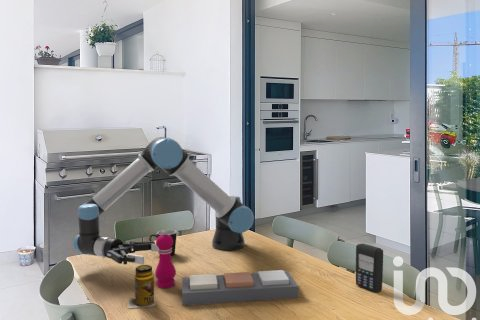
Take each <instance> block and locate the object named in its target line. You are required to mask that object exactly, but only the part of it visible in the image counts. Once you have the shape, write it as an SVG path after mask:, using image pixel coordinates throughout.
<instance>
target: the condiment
mask: <svg viewBox="0 0 480 320" xmlns="http://www.w3.org/2000/svg"><path fill="white" fill-rule="evenodd" d="M154 278H155V277H154V274H153V266H152V265H149V264H139V265H137V266H136V267H135V275H134V297H133V298H128V309H139V308H148V307H156V305H157V303H156V296H155V280H154Z"/></svg>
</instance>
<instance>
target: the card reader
mask: <svg viewBox="0 0 480 320" xmlns="http://www.w3.org/2000/svg"><path fill="white" fill-rule="evenodd" d="M355 247H356V248H355V284H356V285H357V287H360V288H362V289H365V290H368V291H369V292H370V291H371V292H373V293H380V292H382V290H383V277H384V273H383V271H384V250H383V249H382V248H381V247H377V246H373V245H371V244H365V243H358V244H357V245H356V246H355Z"/></svg>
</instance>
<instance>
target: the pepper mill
mask: <svg viewBox="0 0 480 320" xmlns="http://www.w3.org/2000/svg"><path fill="white" fill-rule="evenodd" d="M163 230H164V231H162V230H161V231H162V235H160V236H159V237H158V238H156V241H155V244H156V245H157V246H158V252H157V253H158V256H159V259H158V264H157V266H156V268H155V272H154V273H155V274H154V275H155V277H156V279H157V280H156V286H157V287H158V288H159V289H170V288H173V287H174V286H175V284H176V283H175V281H176V280H175V276H176V268H175V266H174V264H173V261H172V256H171V252H172V248H171V246H172V245H173V239H172V237H171V236H170V235H167V232H166V231H165V230H166V229H163Z"/></svg>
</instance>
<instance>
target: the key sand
mask: <svg viewBox="0 0 480 320" xmlns="http://www.w3.org/2000/svg"><path fill="white" fill-rule="evenodd" d="M216 275H217V274H216V273H207V274H189V277H190V290H200V289H216V288H218V287H217V279H216Z"/></svg>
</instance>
